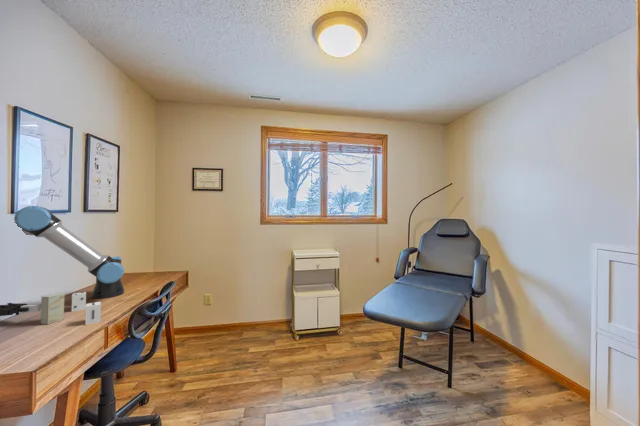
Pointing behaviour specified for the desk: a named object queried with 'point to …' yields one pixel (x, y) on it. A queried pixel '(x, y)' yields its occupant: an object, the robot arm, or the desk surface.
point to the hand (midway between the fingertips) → (39, 308)
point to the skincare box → (52, 308)
